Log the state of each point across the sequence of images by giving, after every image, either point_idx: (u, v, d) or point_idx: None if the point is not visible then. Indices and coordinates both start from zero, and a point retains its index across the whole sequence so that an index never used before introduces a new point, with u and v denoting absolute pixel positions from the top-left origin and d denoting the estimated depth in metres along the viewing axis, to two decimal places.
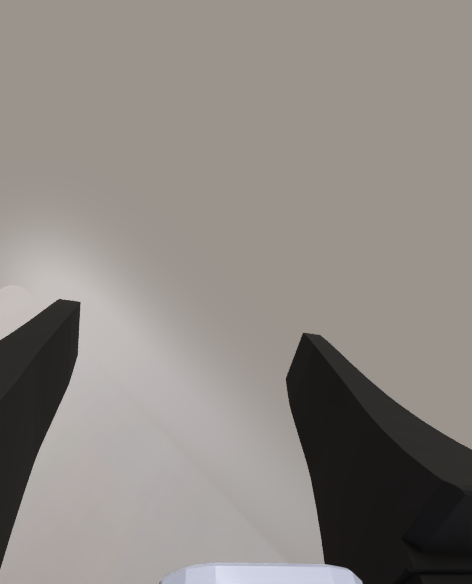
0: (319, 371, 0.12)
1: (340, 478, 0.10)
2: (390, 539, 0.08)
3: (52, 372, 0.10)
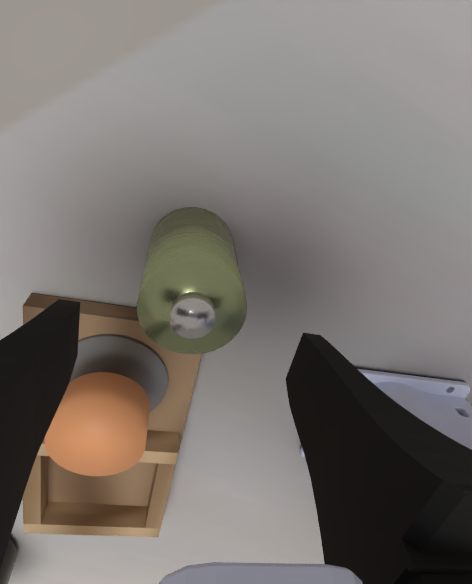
0: (319, 371, 0.12)
1: (340, 478, 0.10)
2: (390, 539, 0.08)
3: (52, 372, 0.10)
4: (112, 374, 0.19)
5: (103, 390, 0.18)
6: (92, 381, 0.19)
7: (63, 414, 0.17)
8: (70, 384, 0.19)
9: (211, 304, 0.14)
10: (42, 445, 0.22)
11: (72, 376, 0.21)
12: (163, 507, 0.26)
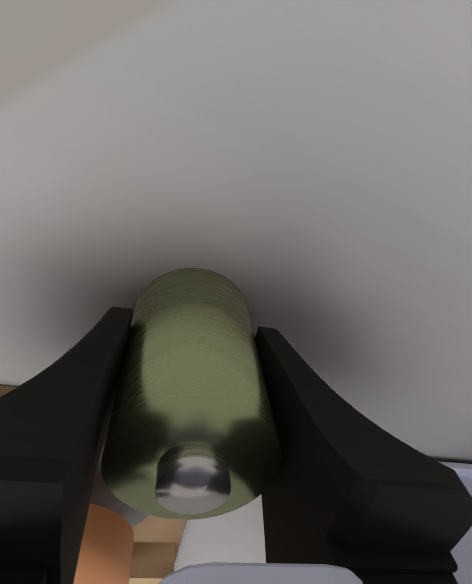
0: (269, 365, 0.11)
1: (281, 474, 0.10)
2: (316, 537, 0.07)
3: (114, 378, 0.10)
4: None
5: None
6: None
7: None
8: None
9: (224, 462, 0.09)
10: None
11: None
12: None
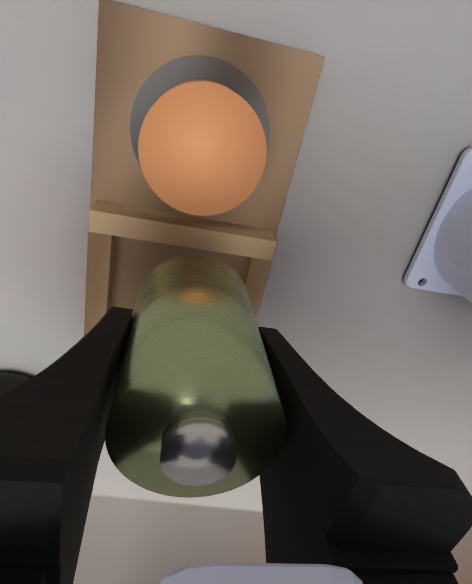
0: None
1: (281, 474, 0.10)
2: (316, 537, 0.07)
3: (114, 379, 0.10)
4: None
5: (212, 82, 0.14)
6: (194, 80, 0.14)
7: (166, 92, 0.13)
8: None
9: (230, 432, 0.09)
10: (115, 217, 0.17)
11: None
12: None
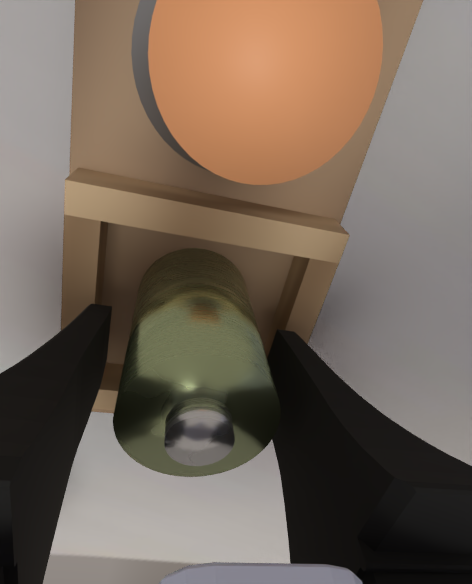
0: (290, 368, 0.11)
1: (306, 476, 0.10)
2: (347, 538, 0.08)
3: (90, 376, 0.10)
4: None
5: None
6: None
7: None
8: None
9: (229, 417, 0.09)
10: (106, 193, 0.11)
11: None
12: None
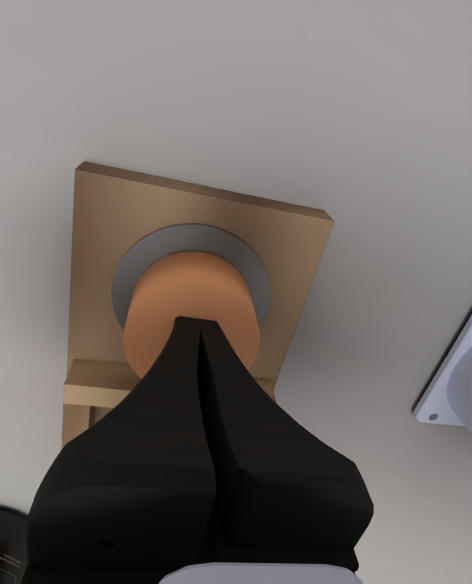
0: (201, 357, 0.11)
1: None
2: (212, 533, 0.07)
3: None
4: (207, 255, 0.14)
5: (203, 267, 0.13)
6: (184, 259, 0.13)
7: (153, 292, 0.12)
8: (151, 267, 0.14)
9: None
10: (93, 390, 0.15)
11: None
12: None
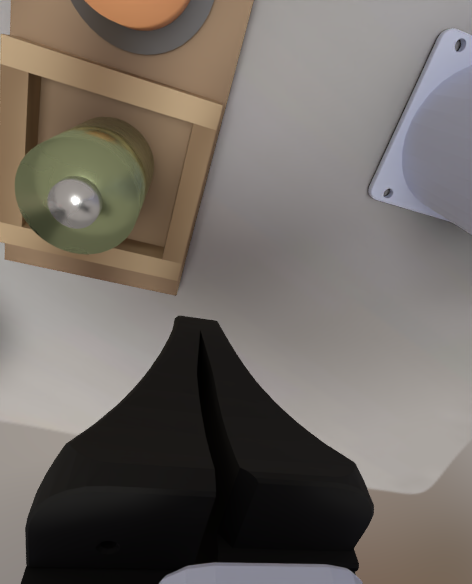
0: (200, 357, 0.11)
1: None
2: (212, 534, 0.07)
3: None
4: None
5: None
6: None
7: None
8: None
9: (96, 191, 0.13)
10: (32, 48, 0.15)
11: None
12: (190, 220, 0.19)
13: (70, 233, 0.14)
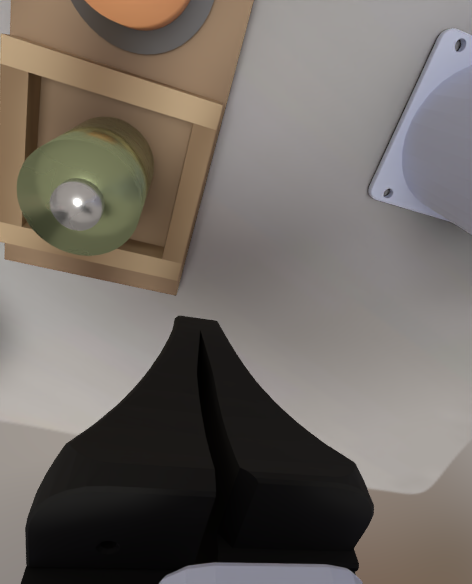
0: (201, 357, 0.11)
1: None
2: (212, 534, 0.07)
3: None
4: None
5: None
6: None
7: None
8: None
9: (98, 193, 0.13)
10: (32, 48, 0.15)
11: None
12: (190, 220, 0.19)
13: (73, 235, 0.14)
